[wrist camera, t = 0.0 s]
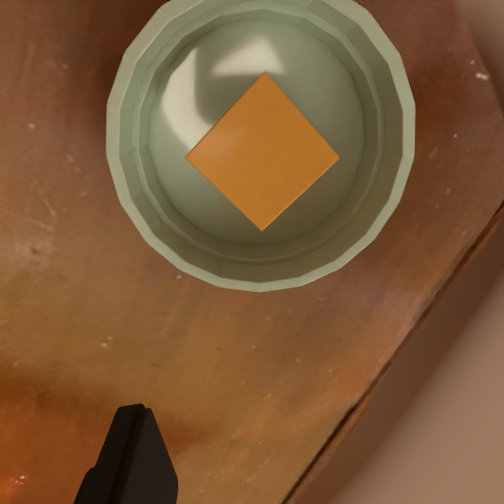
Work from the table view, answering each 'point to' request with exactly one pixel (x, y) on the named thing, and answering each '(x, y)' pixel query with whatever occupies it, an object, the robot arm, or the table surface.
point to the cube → (262, 153)
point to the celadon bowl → (219, 102)
